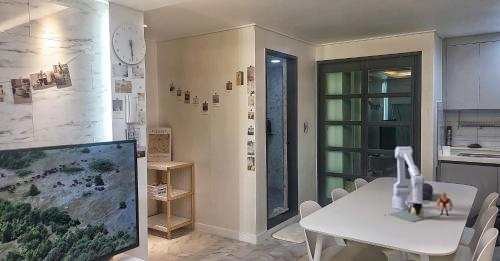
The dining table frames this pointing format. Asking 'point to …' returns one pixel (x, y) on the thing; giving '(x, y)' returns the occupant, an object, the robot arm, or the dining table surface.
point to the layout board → (413, 215)
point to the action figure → (444, 203)
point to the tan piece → (421, 213)
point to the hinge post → (409, 208)
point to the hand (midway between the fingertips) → (417, 215)
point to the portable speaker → (427, 191)
